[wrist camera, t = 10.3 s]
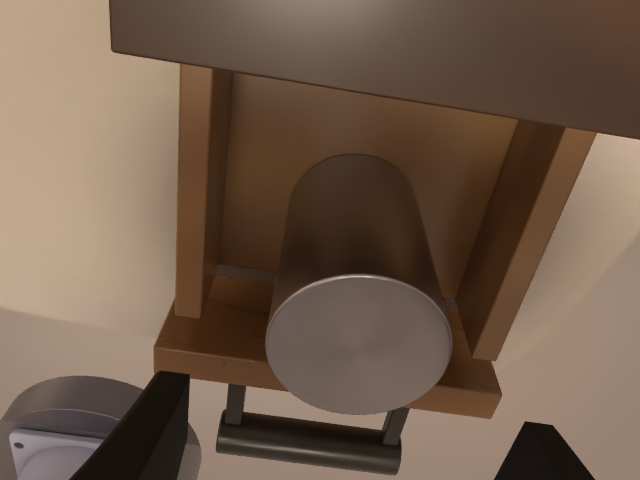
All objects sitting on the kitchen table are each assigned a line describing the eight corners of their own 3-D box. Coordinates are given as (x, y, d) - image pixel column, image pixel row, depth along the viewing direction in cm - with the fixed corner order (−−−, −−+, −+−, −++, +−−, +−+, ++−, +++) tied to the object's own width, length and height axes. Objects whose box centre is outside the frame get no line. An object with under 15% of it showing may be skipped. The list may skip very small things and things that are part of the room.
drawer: (433, 419, 24) (449, 508, 21) (182, 385, 24) (153, 470, 20) (596, 2, 15) (676, 31, 12) (197, -69, 15) (150, -62, 11)
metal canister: (400, 274, 19) (426, 426, 13) (281, 257, 19) (256, 403, 13) (432, 165, 17) (478, 290, 11) (298, 143, 17) (275, 260, 11)
